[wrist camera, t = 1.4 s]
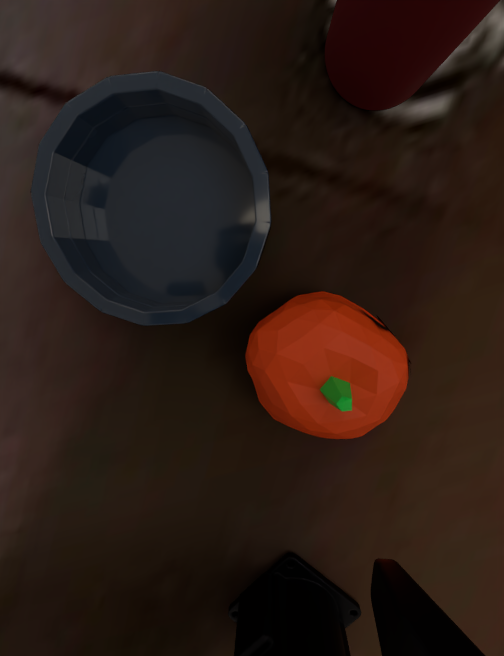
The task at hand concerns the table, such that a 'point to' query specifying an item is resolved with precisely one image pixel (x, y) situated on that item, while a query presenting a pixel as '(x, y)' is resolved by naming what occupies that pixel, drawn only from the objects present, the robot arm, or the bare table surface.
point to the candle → (394, 45)
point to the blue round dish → (151, 198)
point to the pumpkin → (326, 366)
